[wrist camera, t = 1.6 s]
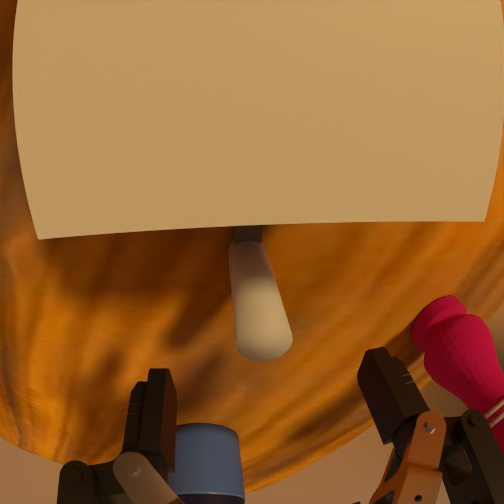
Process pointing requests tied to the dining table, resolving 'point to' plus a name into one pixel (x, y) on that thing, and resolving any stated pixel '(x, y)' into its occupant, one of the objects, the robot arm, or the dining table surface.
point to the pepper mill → (462, 358)
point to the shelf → (255, 112)
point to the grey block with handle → (256, 298)
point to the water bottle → (207, 465)
